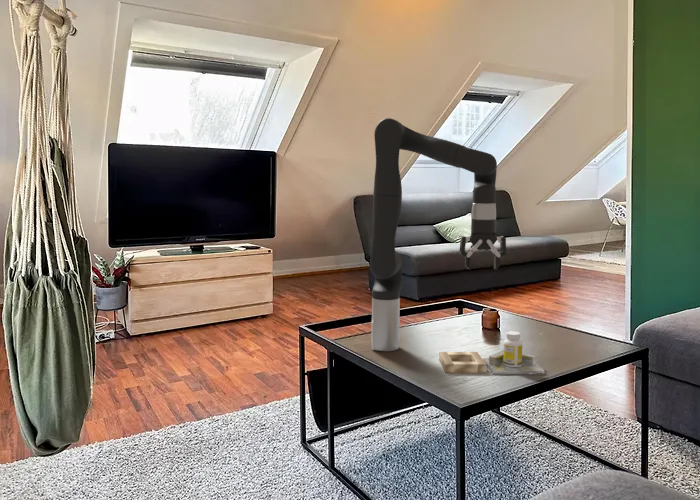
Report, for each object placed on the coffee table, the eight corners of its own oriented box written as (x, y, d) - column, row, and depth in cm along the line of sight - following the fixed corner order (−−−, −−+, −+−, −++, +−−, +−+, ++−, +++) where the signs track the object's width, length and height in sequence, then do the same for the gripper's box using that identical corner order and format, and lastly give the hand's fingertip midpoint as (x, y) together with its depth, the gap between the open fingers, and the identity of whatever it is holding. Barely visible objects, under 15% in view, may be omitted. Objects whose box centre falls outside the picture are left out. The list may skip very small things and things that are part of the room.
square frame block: (445, 372, 166) (445, 364, 166) (438, 359, 178) (439, 352, 177) (486, 372, 166) (486, 364, 166) (477, 359, 178) (477, 352, 177)
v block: (492, 374, 164) (492, 362, 164) (482, 361, 177) (483, 350, 176) (544, 374, 164) (544, 362, 164) (530, 360, 177) (531, 350, 176)
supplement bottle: (518, 361, 172) (519, 330, 171) (524, 367, 167) (525, 335, 166) (500, 362, 172) (501, 330, 171) (506, 367, 167) (507, 335, 166)
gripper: (463, 218, 174) (462, 270, 176) (509, 218, 174) (508, 270, 176) (458, 217, 181) (457, 267, 183) (503, 217, 181) (501, 267, 183)
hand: (482, 268), depth 179 cm, fingers open, 8 cm apart
